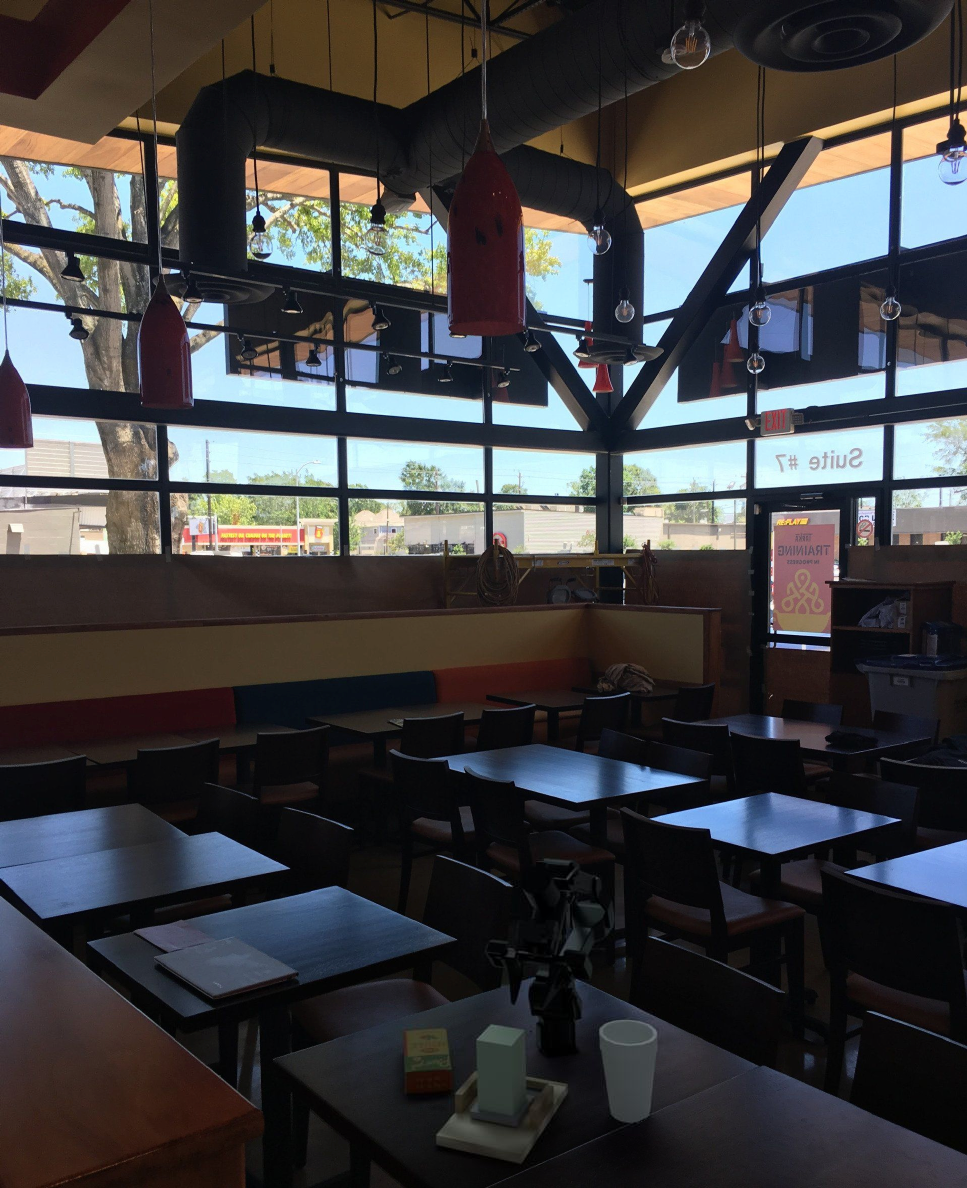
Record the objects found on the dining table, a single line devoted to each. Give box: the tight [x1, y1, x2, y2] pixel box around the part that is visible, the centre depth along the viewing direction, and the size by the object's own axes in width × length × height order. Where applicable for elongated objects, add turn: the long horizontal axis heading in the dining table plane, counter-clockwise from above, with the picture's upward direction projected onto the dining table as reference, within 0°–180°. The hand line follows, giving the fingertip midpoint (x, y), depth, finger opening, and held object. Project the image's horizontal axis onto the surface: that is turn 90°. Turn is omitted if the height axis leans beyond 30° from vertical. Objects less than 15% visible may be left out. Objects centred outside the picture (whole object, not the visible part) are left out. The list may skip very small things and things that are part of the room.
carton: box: [402, 1028, 454, 1095], centre depth 173 cm, size 8×16×4 cm, turn 6°
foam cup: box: [598, 1019, 659, 1124], centre depth 157 cm, size 10×9×13 cm
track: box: [435, 1070, 569, 1165], centre depth 156 cm, size 22×14×4 cm, turn 157°
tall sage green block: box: [470, 1023, 535, 1127], centre depth 155 cm, size 8×8×12 cm
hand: (527, 1006), depth 166 cm, fingers open, 5 cm apart
